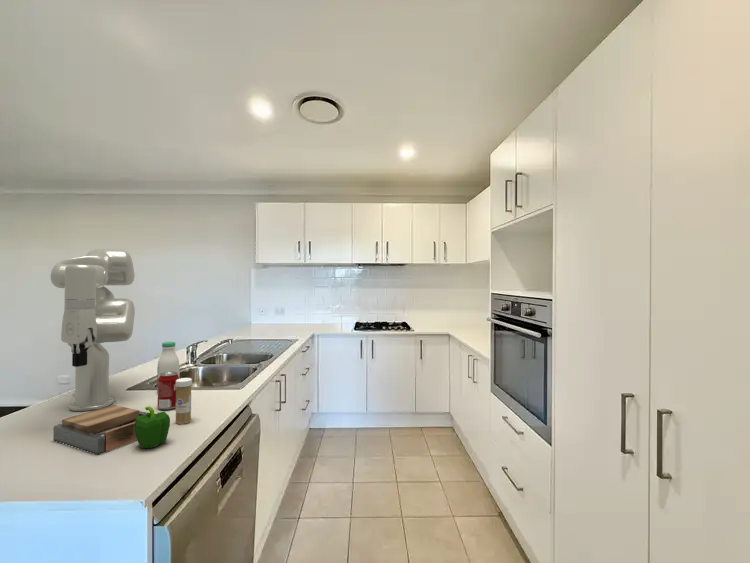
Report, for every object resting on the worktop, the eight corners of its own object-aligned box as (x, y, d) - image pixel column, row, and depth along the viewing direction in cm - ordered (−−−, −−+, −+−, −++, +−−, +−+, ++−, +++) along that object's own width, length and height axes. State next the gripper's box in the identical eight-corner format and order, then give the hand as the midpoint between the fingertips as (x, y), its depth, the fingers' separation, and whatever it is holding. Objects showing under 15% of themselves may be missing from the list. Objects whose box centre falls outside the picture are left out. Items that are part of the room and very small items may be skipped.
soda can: (169, 411, 127) (170, 376, 127) (152, 410, 128) (153, 375, 128) (183, 405, 134) (184, 371, 134) (167, 403, 135) (167, 370, 135)
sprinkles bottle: (173, 424, 115) (173, 381, 115) (178, 419, 120) (178, 377, 120) (189, 424, 116) (189, 380, 116) (193, 418, 121) (193, 377, 121)
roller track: (53, 440, 103) (53, 422, 103) (120, 419, 120) (120, 403, 120) (98, 455, 95) (98, 435, 95) (163, 429, 111) (163, 413, 111)
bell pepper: (173, 445, 101) (173, 408, 101) (137, 454, 96) (138, 415, 96) (165, 435, 108) (166, 400, 108) (131, 443, 102) (132, 406, 102)
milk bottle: (183, 391, 151) (184, 341, 151) (167, 396, 143) (167, 344, 143) (169, 389, 153) (169, 340, 153) (152, 394, 146) (152, 343, 146)
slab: (61, 428, 105) (61, 419, 105) (113, 412, 118) (113, 404, 118) (87, 435, 100) (87, 426, 100) (138, 418, 113) (138, 410, 113)
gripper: (51, 305, 113) (51, 365, 113) (81, 306, 107) (80, 370, 107) (79, 304, 120) (79, 361, 120) (108, 305, 114) (108, 365, 114)
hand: (79, 365), depth 113 cm, fingers closed
